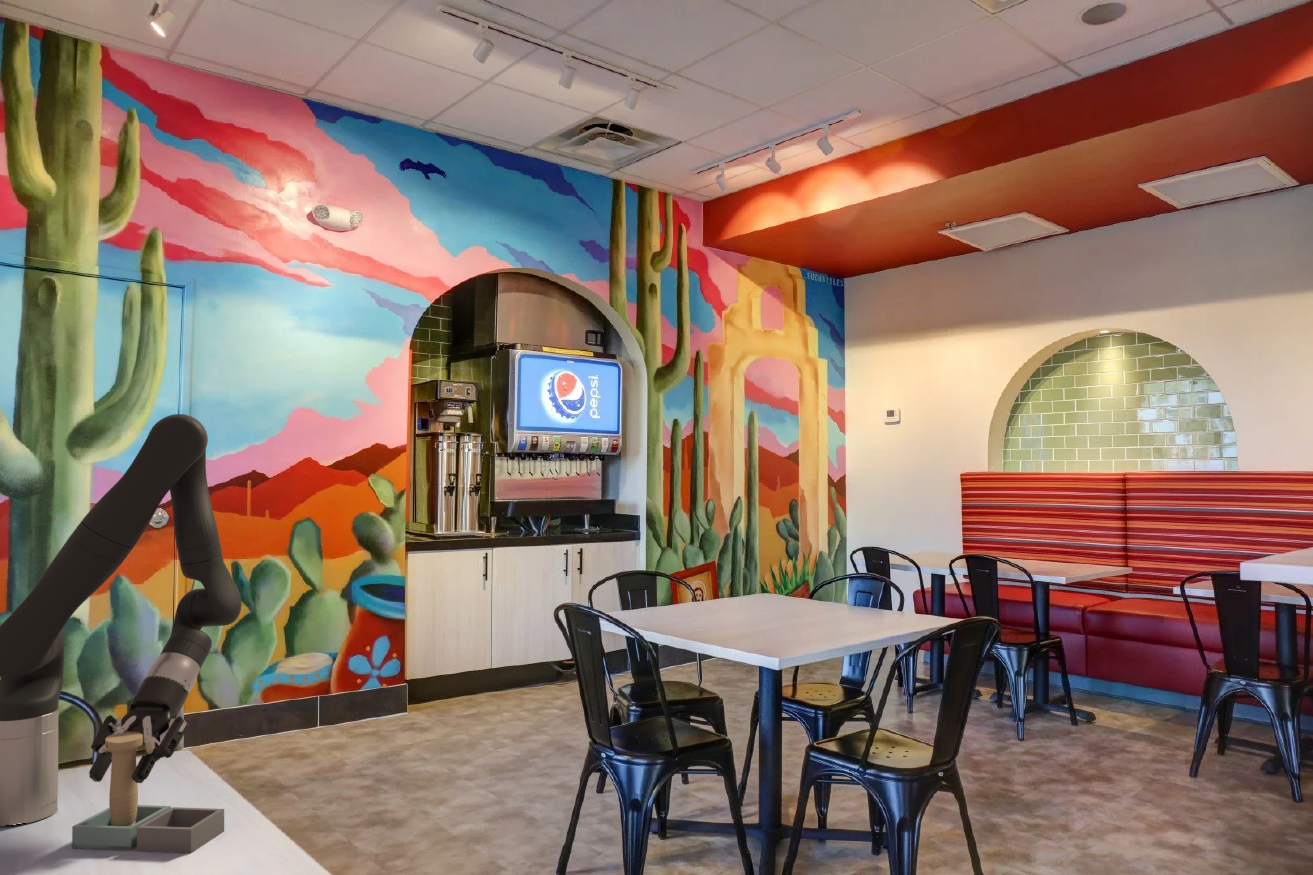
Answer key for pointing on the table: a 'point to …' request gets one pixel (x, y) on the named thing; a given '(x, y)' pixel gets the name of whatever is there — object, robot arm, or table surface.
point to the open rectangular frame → (180, 830)
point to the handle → (123, 777)
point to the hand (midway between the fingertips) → (115, 780)
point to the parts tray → (112, 830)
